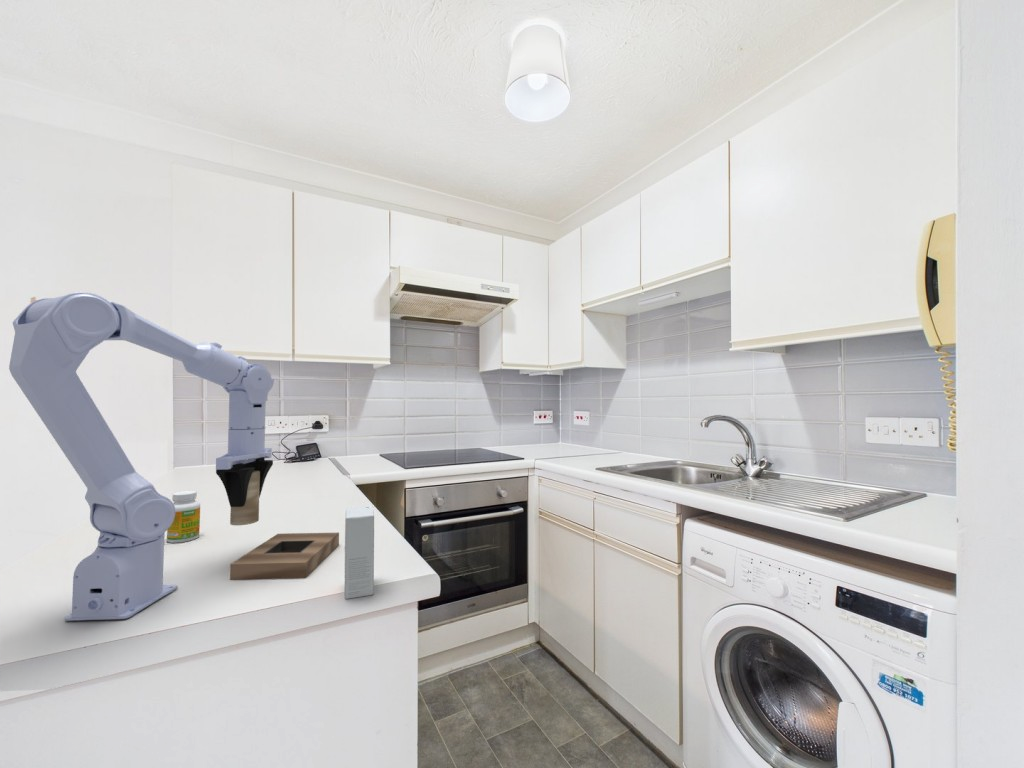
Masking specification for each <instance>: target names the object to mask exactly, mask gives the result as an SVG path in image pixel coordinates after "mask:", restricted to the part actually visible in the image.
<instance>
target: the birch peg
mask: <svg viewBox="0 0 1024 768" xmlns="http://www.w3.org/2000/svg"><path fill="white" fill-rule="evenodd" d="M259 488H260V471H257V470H254V471H253V473H252V475H251V478H250V481H249V484H248V489H247V497H246V502H245V505H244V506H243V507H230V519H229V521H230V522H229V524H230V525H231V526H245V525H251V524H255V523H258V522H259V520H260V498H259Z"/></svg>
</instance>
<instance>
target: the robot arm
mask: <svg viewBox="0 0 1024 768" xmlns="http://www.w3.org/2000/svg"><path fill="white" fill-rule="evenodd" d="M12 325H13V330H14V336H13V343H12V349H11V353H10V361H9V365H8V366H9V368H8V369H9V372H10V375H11V377H12V378H13V380H14V381H15V382H16V384H17V385H18V387H19V388H20V390H21V391H22V393H23V395H24V396H25V397H26V399H27V400H28V402H29V404H30V405H31V406H32V408H33V409H34V411H35V412H36V414H37V415H38V417H39V418H40V420H41V421H42V423H43V425H45V427H46V428H47V430H48V431H49V433H50V434H51V437H52V438H53V439H54V441H55V443H57V445H58V447H59V448H60V450H61V451H62V453H63V454H64V456H65V457H66V458H67V461H68V462H69V463H70V464H71V466H72V468H73V469H74V471H75V472H76V473H77V475H78V477H79V478H80V479H81V481H82V483H83V484H84V486H85V487H86V489H87V490H86V493H85V495H84V499H85V501H86V503H88V506H89V510H90V513H89V521H90V524H91V526H92V527H93V528H94V529H95V530H96V531H97V532H99V536H98V540H97V547H96V548H95V550H94V551H93V552H92V553H91V554H90V555H88V556H86V557H84V558H83V559H81V561H79V563H78V564H77V566H76V567H75V569H74V572H73V577H72V595H71V596H72V599H71V600H72V601H71V613H69V614H67V615H66V616H65V617H64V621H66V622H67V621H68V622H69V621H70V622H71V621H95V620H97V621H100V620H102V621H103V620H104V621H105V620H126V619H128V618H130V617H132V616H134V615H135V614H137V613H139V612H140V611H142V610H143V609H145V608H146V607H148V606H150V605H152V604H153V603H155V602H156V601H158V600H160V599H162V598H164V597H165V596H167V595H168V594H170V593H171V592H173V591H174V590H177V589H178V584H164V559H165V536H166V535H165V533H166V532H167V530H168V528H169V527H170V526H171V524H172V523H173V521H174V518H175V506H174V504H173V503H174V501H173V500H172V499H170V498H168V497H166V496H164V495H163V494H160V493H159V492H158V491H157V490H156V488H155V486H154V485H153V484H152V483H151V482H150V481H149V480H148V479H146V478H144V476H143V475H141V474H139V472H137V471H136V469H135V467H134V466H133V464H132V463H131V460H129V457H128V456H127V455H126V453H125V450H124V449H123V447H122V446H121V445H120V443H119V441H118V440H117V438H116V436H115V434H114V433H113V430H111V428H110V426H109V425H108V423H107V421H106V420H105V418H104V416H103V415H102V413H101V411H100V409H99V407H97V405H96V403H95V401H94V400H93V398H92V396H91V395H90V393H89V392H88V390H87V389H86V386H85V385H84V383H83V382H82V380H81V379H80V377H79V376H78V373H77V371H78V369H79V367H80V366H81V364H82V362H84V360H85V359H86V357H87V355H88V354H89V353H90V351H91V350H93V349H94V348H96V347H97V346H99V345H100V344H102V343H103V342H104V341H126V342H128V343H131V344H134V345H136V346H139V347H142V348H145V349H148V350H150V351H153V352H155V353H158V354H161V355H163V356H165V357H168V358H172V359H173V360H177V361H180V362H181V363H182V365H183V367H184V369H185V371H186V372H187V373H188V374H192V375H194V376H196V377H199V378H201V379H203V380H206V381H209V382H211V383H213V384H215V385H218V386H221V387H222V388H223V389H224V391H225V392H226V393H227V394H229V395H228V398H229V399H228V401H229V402H228V432H227V433H228V434H227V453H226V454H223V455H222V456H219V457H216V458H215V474H216V476H218V478H219V479H220V481H221V483H222V484H223V487H224V490H225V492H226V496H227V499H228V500H227V501H228V503H229V506H230V508H231V507H243V506H244V505H245V502H246V497H247V489H248V484H249V481H250V478H251V475H252V473H253V471H254V470H257V471H260V488H259V499H260V497H261V495H262V491H263V488H264V484H265V481H266V477H267V475H268V473H269V471H270V470H271V468H272V466H273V465H274V460H273V459H270V458H272V451H273V450H272V448H273V447H265V444H266V443H265V442H266V439H265V438H266V403H267V402H268V395H269V393H270V391H271V390H272V388H273V386H274V384H275V383H274V381H275V380H274V378H272V374H271V373H270V371H269V370H268V368H267V367H266V366H264V365H263V364H261V363H249V362H248V361H247V358H246V357H244V356H242V355H241V356H239V355H238V356H237V355H234V354H233V353H230V352H228V351H226V350H224V349H223V348H222V347H223V345H221V344H219V342H218V343H217V342H210V343H209V342H205V341H204V342H199V343H197V344H194V343H193V342H191V341H188V340H187V339H185V338H183V337H181V336H179V335H177V334H176V333H173V332H171V331H170V330H167V329H165V328H164V327H162V326H160V325H157V324H156V323H154V322H153V321H150V320H148V319H147V318H144V317H143V316H140V315H139V314H137V313H135V312H134V311H132V310H131V309H129V308H128V307H126V306H125V305H123V304H120V303H116V302H114V301H111V302H110V301H109V300H107V299H106V298H104V297H103V296H101V295H98V294H95V293H92V292H88V291H76V292H75V291H74V292H70V293H68V294H65V295H62V296H57V297H49V298H40V299H37V300H35V301H32V302H30V303H29V304H27V306H26V307H25V308H23V310H22V311H21V312H20V313H19V314H18V315H17V317H16V318H14V320H13V321H12Z"/></svg>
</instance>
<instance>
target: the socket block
mask: <svg viewBox="0 0 1024 768" xmlns="http://www.w3.org/2000/svg"><path fill="white" fill-rule="evenodd" d="M339 545H340V532H296V533H293V532H291V533H289V532H288V533H277V534H275V535H273V536H272V537H271V538H269V539H267V540H266V541H264V542H263V543H261V544H260V545H258V546H256V547H255V548H253V549H252V550H249V552H247V553H246V554H243V556H241V557H239V558H237V559H236V560H234V561H233V562H231V563H230V567H229V580H233V581H236V580H237V581H239V580H240V581H241V580H267V579H268V580H271V579H273V580H275V579H306V578H308V576H309V575H310V574H311V573H312V572H313V571H314V570H315V569H317V567H319V565H320V564H322V562H323V561H324V560H326V558H328V557H329V555H330V554H332V552H333V551H335V550H336V549H337V547H339Z"/></svg>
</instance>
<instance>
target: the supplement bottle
mask: <svg viewBox="0 0 1024 768" xmlns="http://www.w3.org/2000/svg"><path fill="white" fill-rule="evenodd" d="M196 499H197V490H183V491H177V492H174V493H172V499H171V500H172V502H173V504H174V506H175V518H174V521H173V523H172V524H171V526H170V527H169V528H168V530H166V542H168V543H171V544H176V543H186V542H190V541H193V540H195V539H197V538H199V536H200V528H201V527H200V525H201V524H200V523H201V520H200V519H201V502H199V500H196Z"/></svg>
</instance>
